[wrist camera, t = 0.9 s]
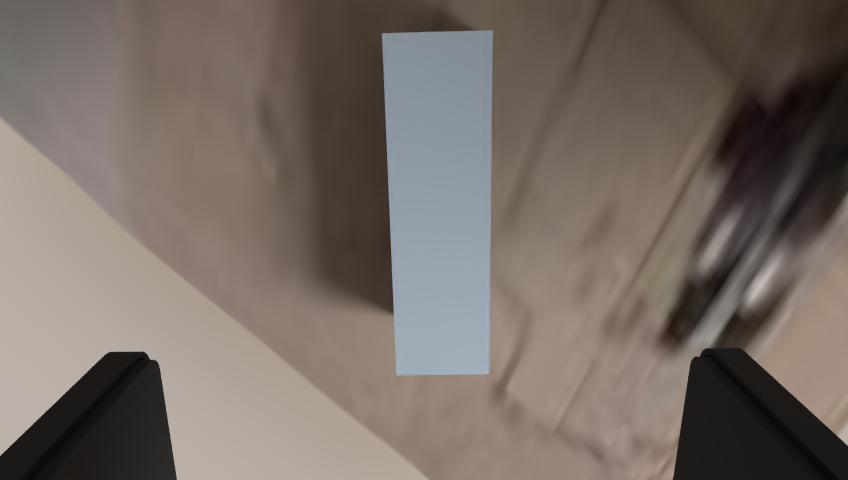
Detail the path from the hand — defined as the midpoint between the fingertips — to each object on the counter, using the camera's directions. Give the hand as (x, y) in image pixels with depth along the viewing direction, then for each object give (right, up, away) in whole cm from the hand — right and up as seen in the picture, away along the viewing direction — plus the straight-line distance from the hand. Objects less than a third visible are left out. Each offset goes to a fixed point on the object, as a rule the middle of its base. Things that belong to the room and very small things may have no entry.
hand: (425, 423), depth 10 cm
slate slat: (+1, +6, +19) cm, 20 cm away
